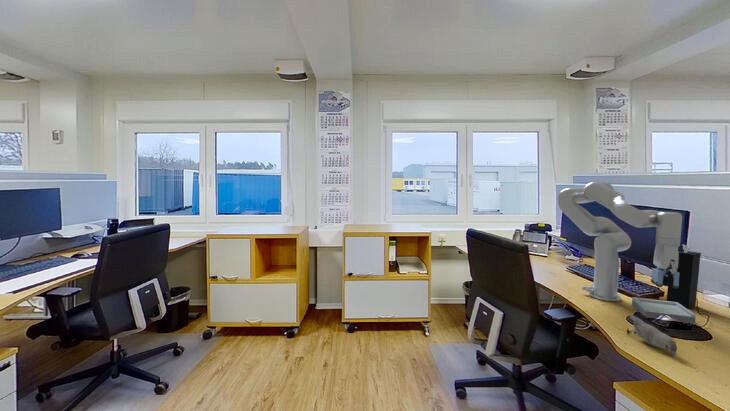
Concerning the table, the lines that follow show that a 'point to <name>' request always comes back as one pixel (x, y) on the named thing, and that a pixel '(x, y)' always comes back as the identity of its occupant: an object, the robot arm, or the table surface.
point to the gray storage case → (658, 278)
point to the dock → (663, 309)
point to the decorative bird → (653, 336)
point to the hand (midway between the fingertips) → (664, 283)
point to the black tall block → (686, 279)
